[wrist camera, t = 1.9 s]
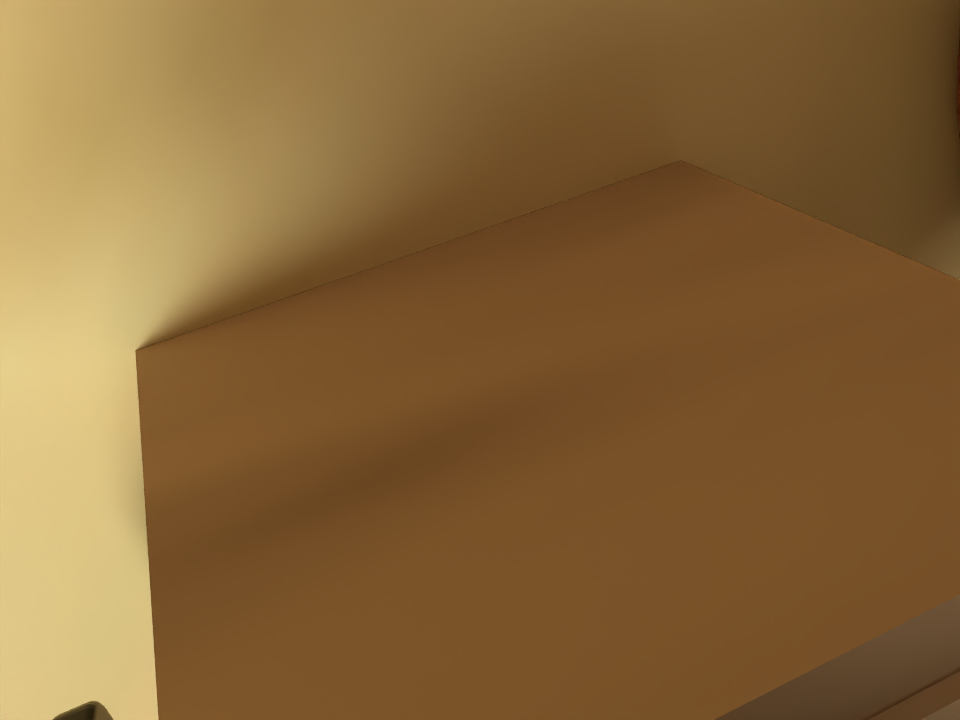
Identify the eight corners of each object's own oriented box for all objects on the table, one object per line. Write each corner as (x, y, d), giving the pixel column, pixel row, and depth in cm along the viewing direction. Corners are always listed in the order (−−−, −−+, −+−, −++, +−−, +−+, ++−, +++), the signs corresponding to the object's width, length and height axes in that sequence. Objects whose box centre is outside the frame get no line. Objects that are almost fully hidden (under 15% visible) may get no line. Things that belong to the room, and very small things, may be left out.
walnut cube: (712, 551, 13) (1118, 980, 8) (320, 733, 11) (492, 1391, 6) (677, 158, 10) (1316, 435, 5) (135, 347, 8) (177, 1025, 3)
